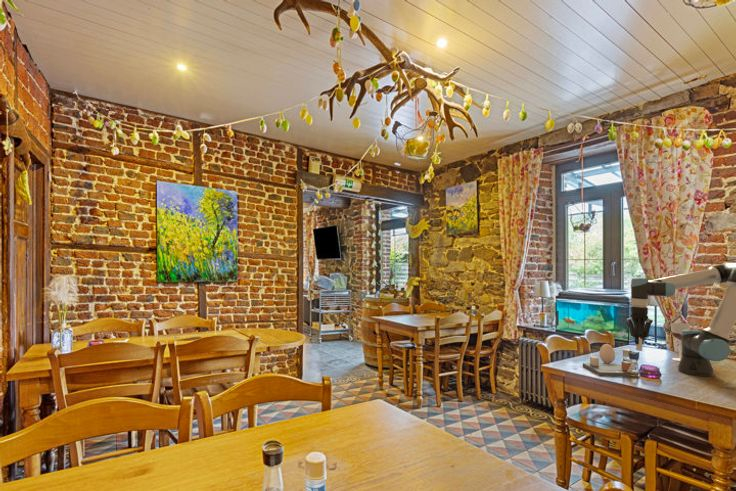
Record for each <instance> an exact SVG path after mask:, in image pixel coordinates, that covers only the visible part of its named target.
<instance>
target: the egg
mask: <svg viewBox="0 0 736 491" xmlns="http://www.w3.org/2000/svg"><path fill="white" fill-rule="evenodd" d="M598 353H599V359H600V360H601V362H603V364H613V362H614V361H615V359H616V352H615V350H614V348H613V346H611V345H610V344H609V343H605V344H603V345H602V346H600V349H599V352H598Z"/></svg>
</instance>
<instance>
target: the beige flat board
mask: <svg viewBox="0 0 736 491" xmlns="http://www.w3.org/2000/svg"><path fill="white" fill-rule="evenodd" d="M582 367H583V368H584V369H586V370H588V371H590V372H592V373H594V374H595V375H597V376H599V377H621V378H622V377H623V378H624V377H625V378H626V377H627V378H630V377H629V376H631V375H634V374H637V373H638V372H637V373H634V374H633V373H630V372H627V371H625V370H623V369H622V365H621V364H620V363H610V364H606V363H604V362H603V363H601V362H599V366H593V365H591V364H590V362H582Z"/></svg>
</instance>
